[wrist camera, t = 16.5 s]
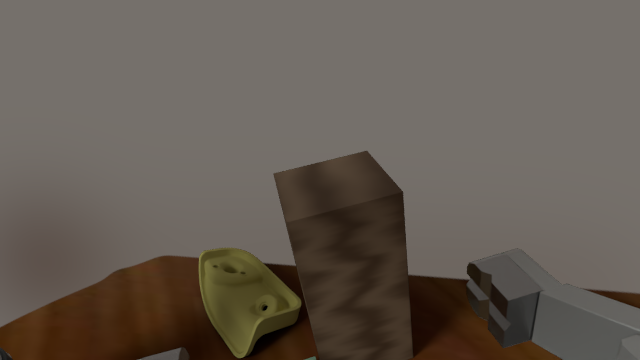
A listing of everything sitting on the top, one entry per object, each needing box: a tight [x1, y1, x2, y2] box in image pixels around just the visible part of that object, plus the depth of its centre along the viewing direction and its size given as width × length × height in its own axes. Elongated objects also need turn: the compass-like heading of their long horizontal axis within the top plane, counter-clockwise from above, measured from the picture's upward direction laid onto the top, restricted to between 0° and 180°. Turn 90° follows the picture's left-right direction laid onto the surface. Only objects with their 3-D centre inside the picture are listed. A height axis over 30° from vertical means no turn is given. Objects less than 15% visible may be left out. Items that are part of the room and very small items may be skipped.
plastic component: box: [199, 248, 301, 358], centre depth 62 cm, size 20×7×10 cm
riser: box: [274, 151, 413, 360], centre depth 48 cm, size 12×11×26 cm
